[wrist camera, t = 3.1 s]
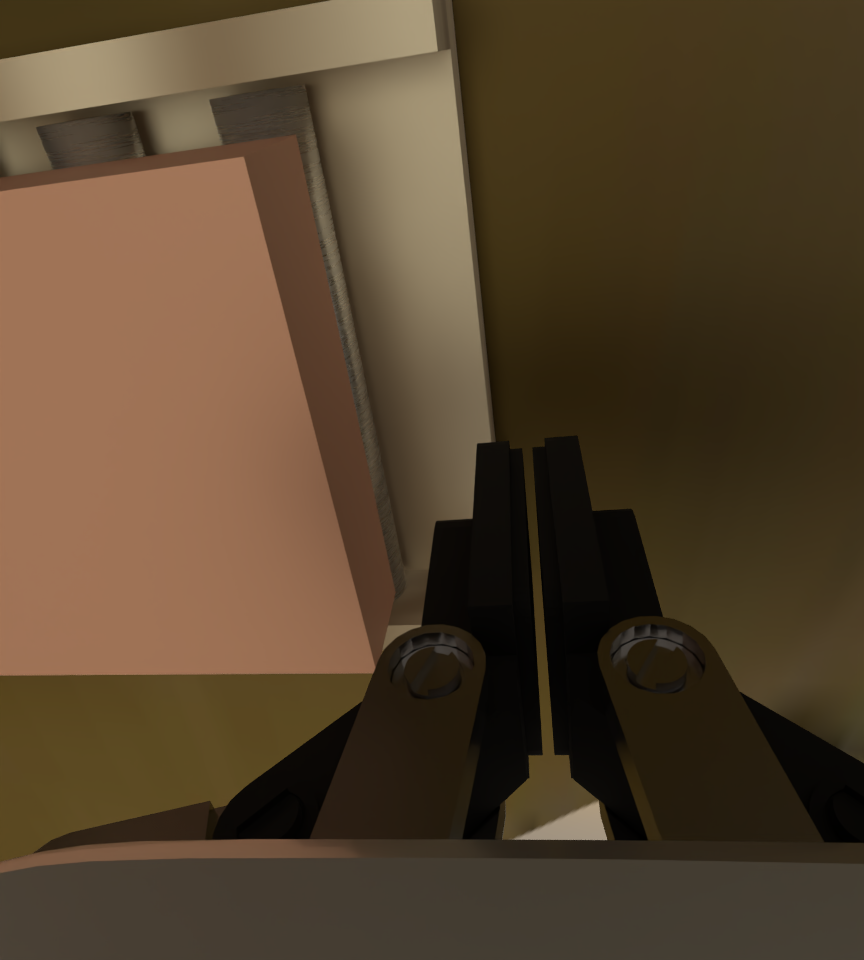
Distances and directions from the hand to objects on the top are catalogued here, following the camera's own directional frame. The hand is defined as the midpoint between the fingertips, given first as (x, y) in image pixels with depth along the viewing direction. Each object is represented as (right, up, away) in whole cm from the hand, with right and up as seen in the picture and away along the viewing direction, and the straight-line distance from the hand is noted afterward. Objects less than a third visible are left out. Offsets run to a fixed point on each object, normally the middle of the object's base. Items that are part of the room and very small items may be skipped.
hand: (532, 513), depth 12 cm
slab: (-10, +2, +6) cm, 12 cm away
